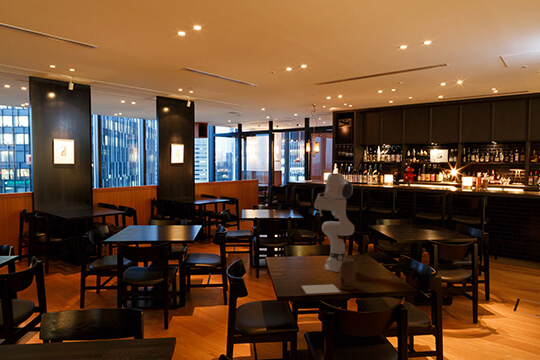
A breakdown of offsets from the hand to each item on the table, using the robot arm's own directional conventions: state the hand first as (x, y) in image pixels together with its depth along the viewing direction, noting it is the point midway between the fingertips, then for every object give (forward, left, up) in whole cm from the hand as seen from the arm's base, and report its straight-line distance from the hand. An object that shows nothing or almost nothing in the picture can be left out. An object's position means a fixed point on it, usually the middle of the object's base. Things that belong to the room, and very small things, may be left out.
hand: (328, 217), depth 226 cm
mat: (-7, -3, -50) cm, 51 cm away
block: (-7, +16, -50) cm, 53 cm away
